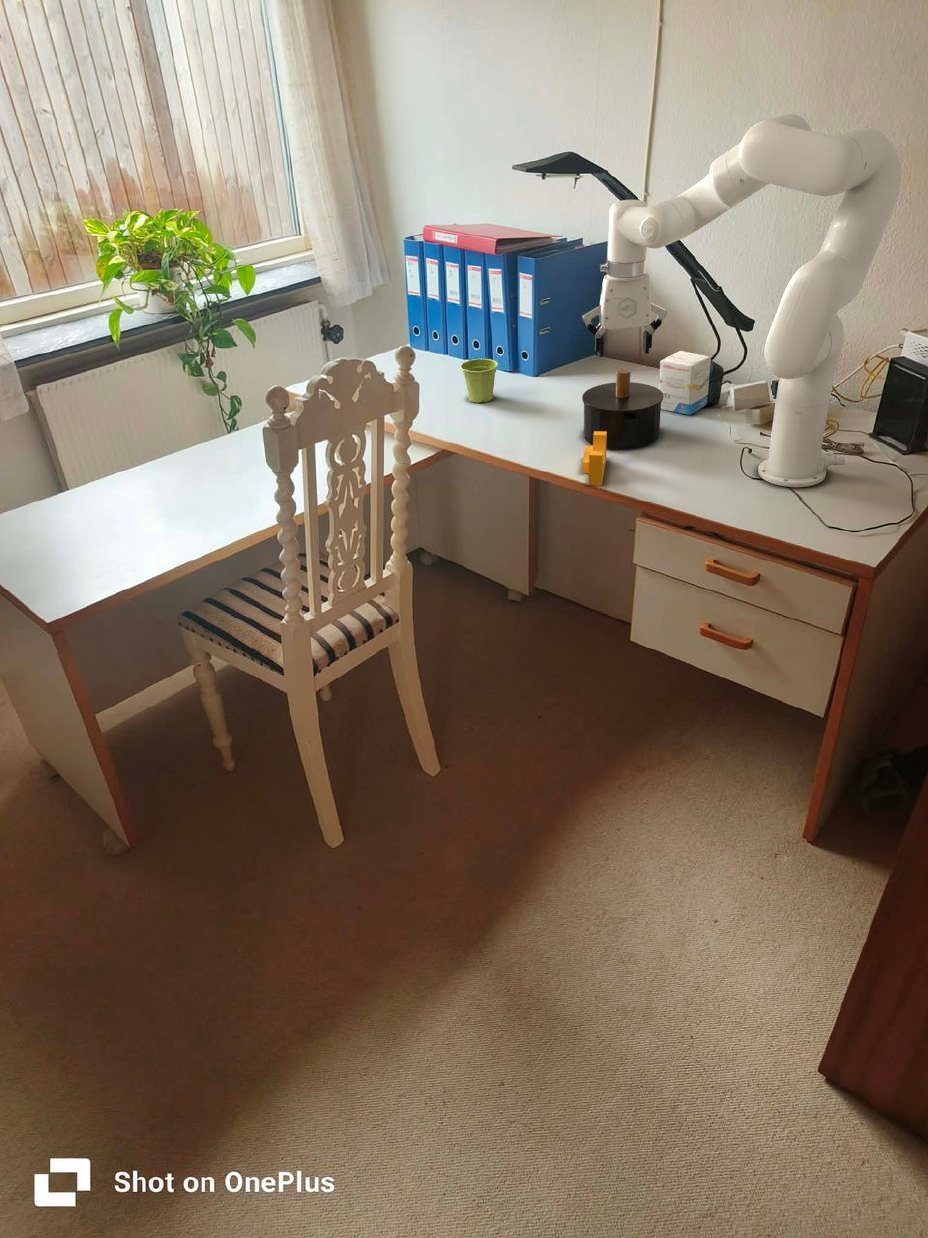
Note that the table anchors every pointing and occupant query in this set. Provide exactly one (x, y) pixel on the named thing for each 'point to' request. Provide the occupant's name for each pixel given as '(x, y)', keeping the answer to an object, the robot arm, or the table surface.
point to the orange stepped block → (595, 458)
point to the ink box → (684, 382)
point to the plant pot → (479, 378)
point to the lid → (622, 395)
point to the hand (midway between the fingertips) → (622, 353)
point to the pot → (623, 427)
